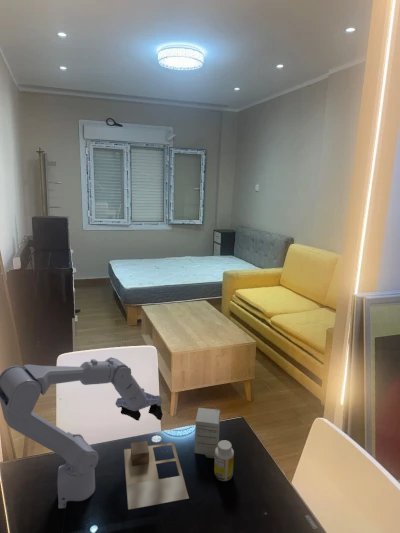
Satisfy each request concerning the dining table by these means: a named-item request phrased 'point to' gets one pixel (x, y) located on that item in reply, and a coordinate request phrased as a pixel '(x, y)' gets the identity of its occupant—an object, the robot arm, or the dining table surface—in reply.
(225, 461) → the supplement bottle
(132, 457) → the walnut block
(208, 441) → the supplement box
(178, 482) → the board
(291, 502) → the dining table surface
